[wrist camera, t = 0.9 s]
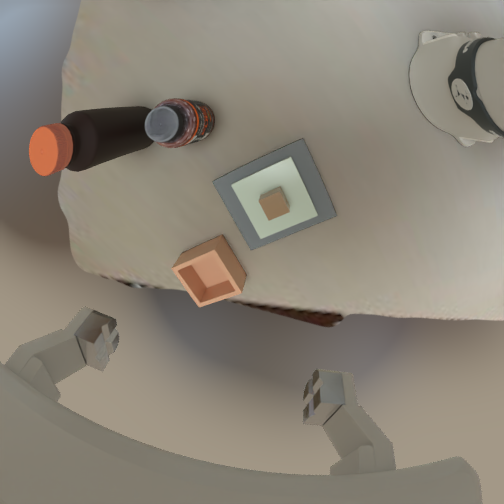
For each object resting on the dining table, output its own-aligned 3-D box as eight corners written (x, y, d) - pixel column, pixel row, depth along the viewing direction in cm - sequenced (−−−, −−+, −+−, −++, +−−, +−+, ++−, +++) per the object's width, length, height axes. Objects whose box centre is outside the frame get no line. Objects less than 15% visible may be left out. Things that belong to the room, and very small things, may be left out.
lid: (290, 155, 35) (291, 160, 32) (317, 213, 38) (320, 223, 35) (232, 183, 38) (226, 190, 34) (261, 236, 41) (258, 247, 38)
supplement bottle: (220, 135, 35) (194, 143, 25) (181, 146, 37) (144, 159, 27) (209, 95, 33) (179, 89, 23) (171, 108, 34) (130, 109, 24)
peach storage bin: (222, 234, 42) (214, 249, 38) (246, 274, 45) (241, 293, 41) (182, 252, 45) (171, 268, 41) (206, 289, 48) (199, 307, 44)
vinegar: (168, 121, 35) (74, 137, 17) (144, 157, 38) (52, 199, 20) (136, 98, 33) (36, 104, 16) (115, 134, 36) (18, 163, 19)
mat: (302, 138, 34) (302, 138, 34) (336, 214, 39) (336, 215, 38) (213, 180, 39) (212, 181, 38) (251, 248, 43) (251, 250, 43)
